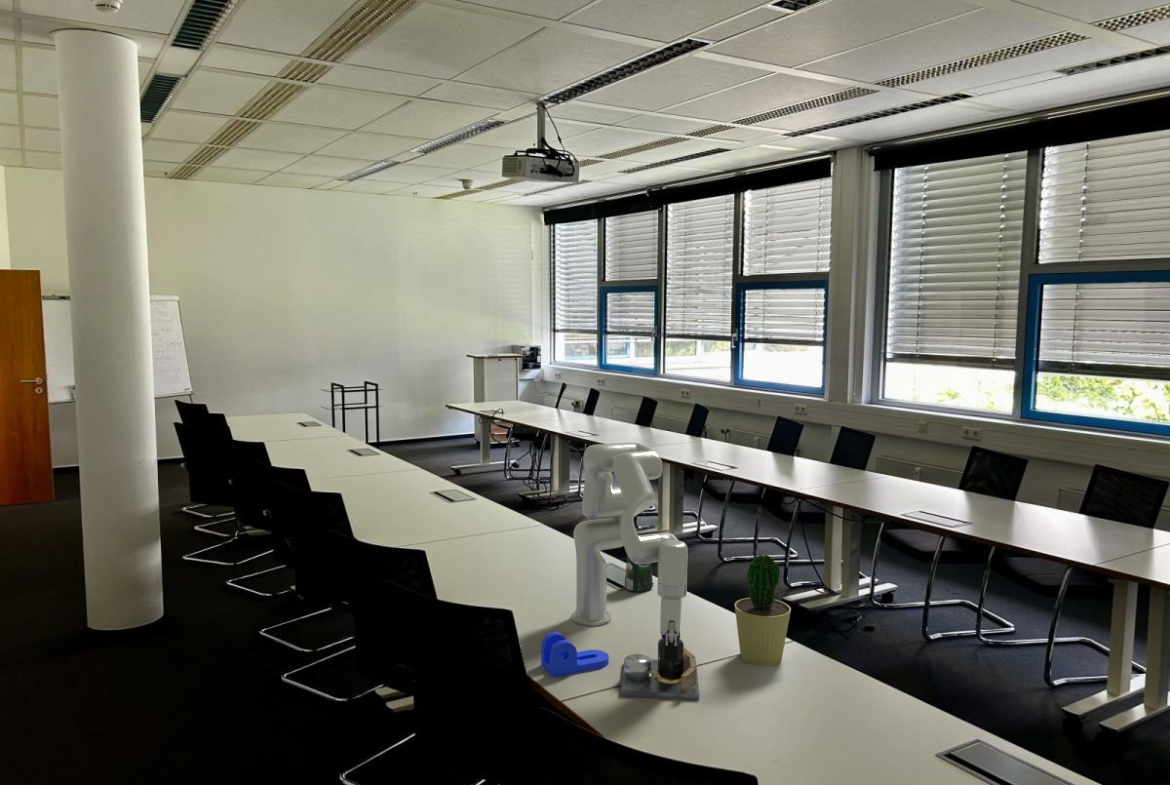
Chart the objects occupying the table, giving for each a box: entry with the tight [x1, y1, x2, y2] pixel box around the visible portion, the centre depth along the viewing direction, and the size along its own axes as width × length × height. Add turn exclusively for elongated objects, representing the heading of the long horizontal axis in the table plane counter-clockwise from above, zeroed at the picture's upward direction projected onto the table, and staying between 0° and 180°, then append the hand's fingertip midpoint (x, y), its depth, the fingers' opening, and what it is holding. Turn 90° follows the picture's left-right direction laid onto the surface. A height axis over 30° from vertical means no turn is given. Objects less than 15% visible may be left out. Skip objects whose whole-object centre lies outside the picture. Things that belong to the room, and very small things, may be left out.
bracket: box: [540, 631, 610, 678], centre depth 221 cm, size 18×8×9 cm, turn 115°
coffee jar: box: [624, 549, 654, 593], centre depth 284 cm, size 10×8×19 cm
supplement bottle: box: [657, 630, 685, 679], centre depth 212 cm, size 7×7×12 cm
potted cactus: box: [734, 554, 792, 667], centre depth 226 cm, size 15×15×30 cm
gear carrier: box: [620, 647, 700, 701], centre depth 212 cm, size 20×20×6 cm
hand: (670, 652), depth 211 cm, fingers open, 9 cm apart
